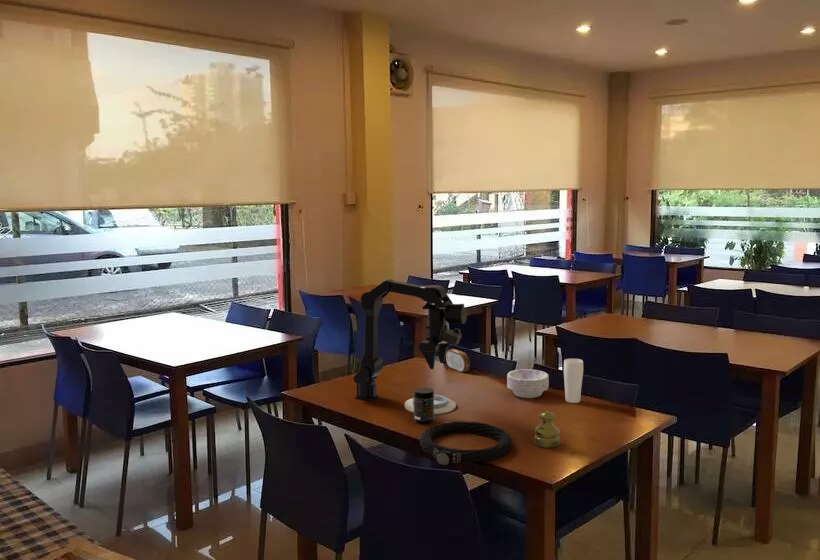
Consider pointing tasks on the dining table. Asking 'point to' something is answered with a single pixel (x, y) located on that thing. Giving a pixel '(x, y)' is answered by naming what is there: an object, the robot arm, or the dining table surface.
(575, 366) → the drinking glass
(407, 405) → the round tray
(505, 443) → the cable lock
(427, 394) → the supplement container
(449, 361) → the tin
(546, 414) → the gold tapered knobbed piece
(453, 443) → the dining table surface
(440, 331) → the robot arm
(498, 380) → the dining table surface
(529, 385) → the paper bowls
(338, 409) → the dining table surface
